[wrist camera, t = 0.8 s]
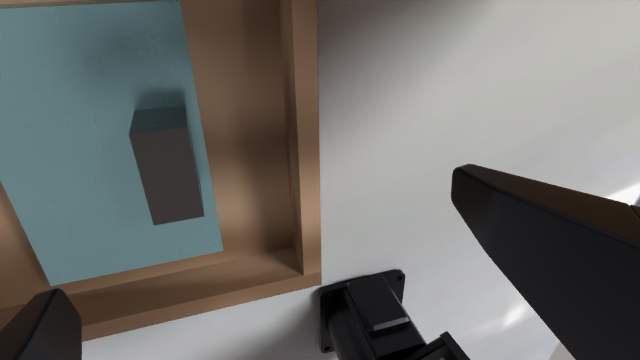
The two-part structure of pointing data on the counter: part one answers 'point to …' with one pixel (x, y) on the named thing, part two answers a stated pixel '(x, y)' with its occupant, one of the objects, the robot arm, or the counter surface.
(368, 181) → the counter surface
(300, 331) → the counter surface
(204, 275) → the walnut box
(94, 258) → the cover plate
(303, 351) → the counter surface
